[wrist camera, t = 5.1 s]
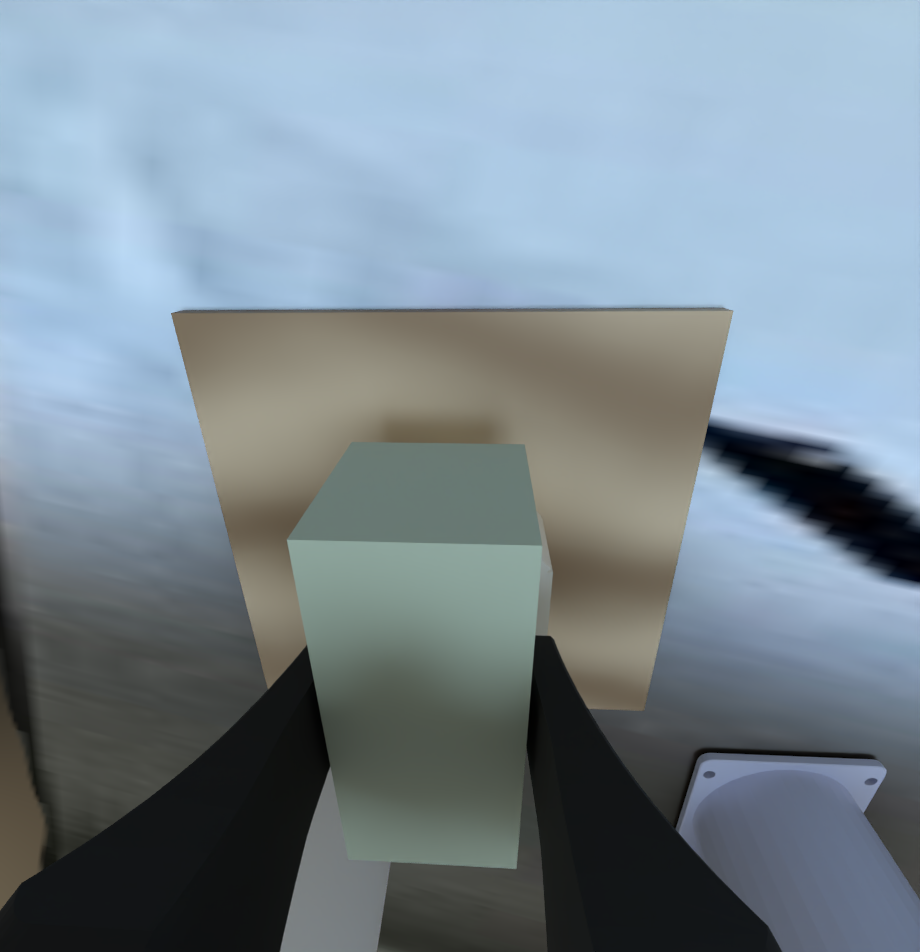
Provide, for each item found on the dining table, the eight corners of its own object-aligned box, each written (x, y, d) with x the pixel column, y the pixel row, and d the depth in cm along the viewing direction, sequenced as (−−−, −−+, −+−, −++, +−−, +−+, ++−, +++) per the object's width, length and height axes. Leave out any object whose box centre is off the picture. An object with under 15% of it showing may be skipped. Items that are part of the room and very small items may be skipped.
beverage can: (216, 754, 24) (-1, 1168, 13) (370, 735, 23) (266, 1173, 12) (281, 846, 28) (148, 1237, 17) (418, 834, 26) (370, 1246, 16)
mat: (640, 698, 21) (644, 710, 20) (275, 685, 22) (270, 697, 21) (723, 308, 14) (733, 310, 13) (182, 310, 15) (171, 313, 14)
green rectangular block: (509, 716, 17) (516, 868, 13) (381, 710, 17) (348, 859, 13) (524, 444, 12) (542, 545, 8) (351, 442, 13) (286, 540, 8)
